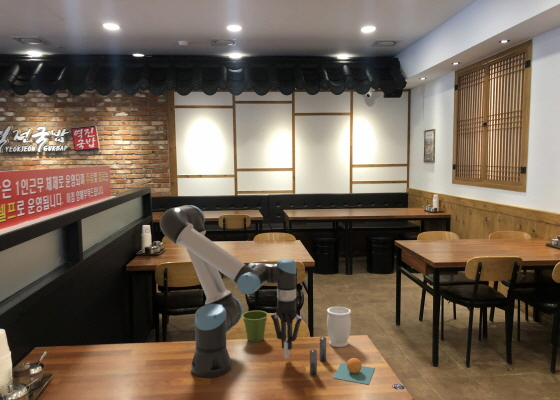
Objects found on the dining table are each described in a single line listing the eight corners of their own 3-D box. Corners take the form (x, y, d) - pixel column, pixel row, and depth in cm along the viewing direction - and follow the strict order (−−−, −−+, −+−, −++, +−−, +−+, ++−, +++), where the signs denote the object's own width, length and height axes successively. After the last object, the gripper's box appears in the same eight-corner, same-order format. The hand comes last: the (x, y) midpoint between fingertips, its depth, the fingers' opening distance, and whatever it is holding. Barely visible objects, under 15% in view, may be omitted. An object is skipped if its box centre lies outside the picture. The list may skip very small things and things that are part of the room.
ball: (362, 375, 156) (347, 377, 158) (364, 368, 161) (350, 370, 163) (357, 360, 156) (343, 362, 158) (360, 354, 161) (346, 356, 163)
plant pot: (260, 332, 199) (260, 308, 198) (273, 341, 189) (273, 316, 188) (237, 337, 193) (237, 313, 192) (249, 346, 183) (248, 321, 182)
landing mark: (332, 378, 156) (332, 377, 156) (341, 362, 168) (341, 362, 168) (368, 384, 151) (368, 384, 151) (374, 368, 163) (374, 368, 163)
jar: (350, 349, 180) (350, 315, 179) (325, 347, 182) (325, 313, 181) (351, 339, 190) (351, 306, 189) (327, 337, 192) (328, 305, 191)
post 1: (308, 375, 158) (308, 351, 157) (311, 372, 160) (311, 348, 160) (315, 376, 157) (315, 352, 156) (317, 373, 159) (317, 350, 159)
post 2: (318, 360, 170) (318, 338, 169) (320, 358, 172) (320, 336, 171) (325, 361, 169) (325, 339, 168) (326, 359, 171) (326, 337, 170)
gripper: (267, 299, 166) (268, 357, 168) (299, 303, 161) (299, 363, 163) (275, 294, 173) (275, 350, 175) (305, 297, 168) (305, 355, 170)
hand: (286, 356), depth 169 cm, fingers closed
